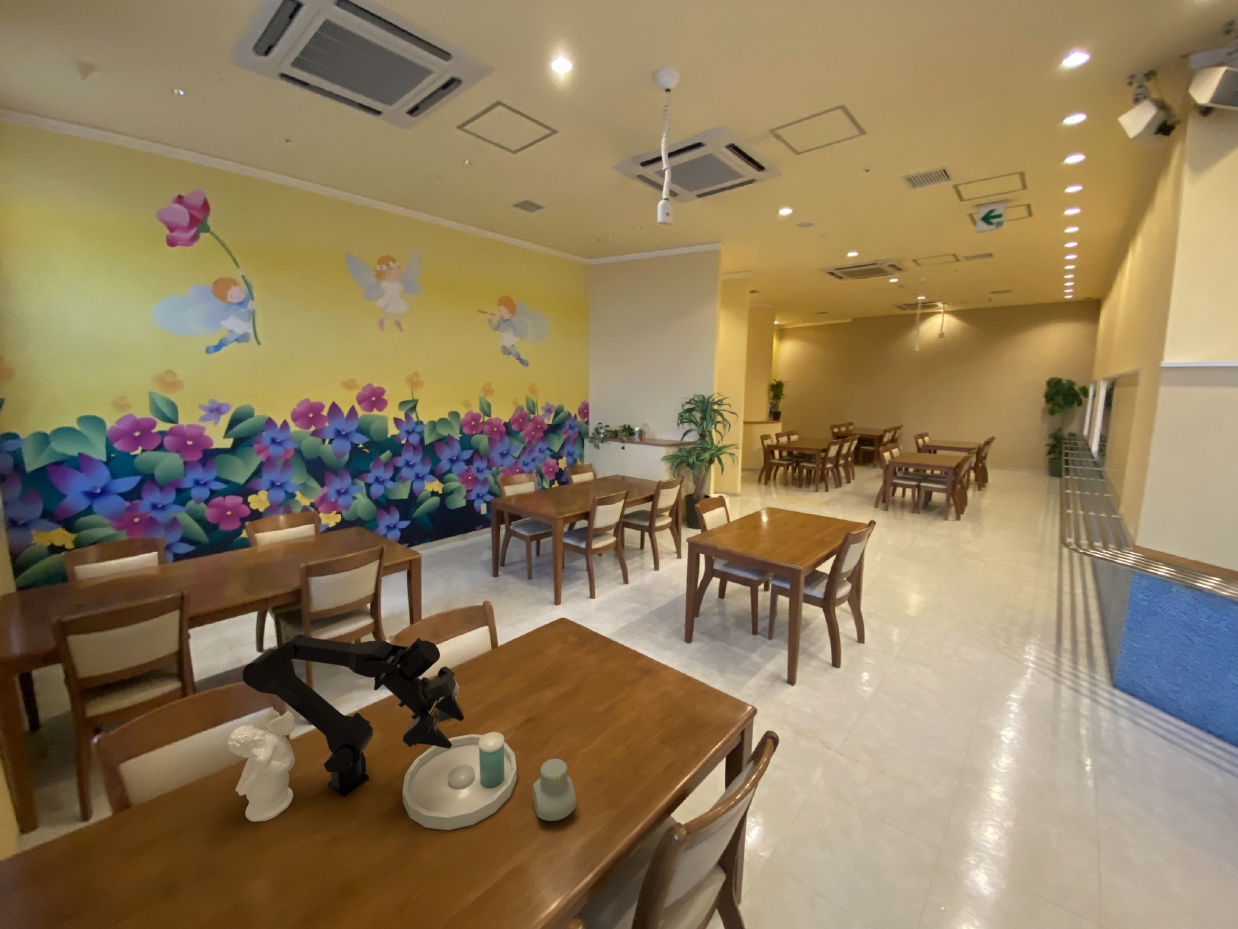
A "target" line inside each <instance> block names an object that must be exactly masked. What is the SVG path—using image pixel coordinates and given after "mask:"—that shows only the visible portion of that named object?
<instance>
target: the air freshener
mask: <svg viewBox="0 0 1238 929" xmlns="http://www.w3.org/2000/svg"><path fill="white" fill-rule="evenodd" d="M531 790H532V791H531V792H532V799H533V806H534V809H535V813H536V816H537V817H538V818H539V819H541V820H542V821H543V820H544V821H549V822H555V821H559V820H563V819H564V818H566V817H568V816H569V815H570V814H572V812H573V811H574V810H575V808H576V807H577V797H576V791H575V788H574V784H573V781H572V779H571V777H570V776H569V775H568V765H567V763H566V762H565V761H564V760H562V759H560V758H551V759H547V761H544V762H543V763H542V765H541V767H540V778H538V779H537V780H536V781H535V782H534V783H533V784H532V789H531Z"/></svg>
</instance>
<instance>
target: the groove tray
mask: <svg viewBox="0 0 1238 929" xmlns="http://www.w3.org/2000/svg"><path fill="white" fill-rule="evenodd" d="M483 735H484V734H474V733H471V734H466V735H460V736H454V737H451V738H447V739H448V740H449V741H450V742H451V744H452V746H451V747H450V748H449V749H448V748H443V747H438V746H433V745H431V747H430V748H428V749H427V750H425V751H424V752H423V753H422V754H420V755H419V756H418V757H417V758H415V760H414V761H413V763H412V764H411V765H410V767H408V770H407V771H406V773H405V774H404V775H405V776H404V780H403V785H402V804H403V807H404V808H405V810H406V812H407V814H408V817H409V819H411V820H413V821H414V822H416V823H417V824H419V825H421V826H422V827H423V828H425V829H426V828H427V829H435V830H444V831H451V830H456V829H459V828H465V827H470V826H473V825H475V824H477V823H479V822H481V821H482V820H484V819H486V818H489V817H490V816H491V815H493V814H495V813H496V812H497V811H498V810H499V809H500V808H501V806H503V805H504V803H506V801H507V800H509V798H510V797H511V795H512V792H513V790H514V787H515V784H516V782H517V776H518V775H517V770H518V769H517V762H516V754H515V752H514V751H513V750H512V749H511V747H510V746H509V744H507V742H505V741H504V777H505V778H504V781H503V782H502V783H501V784H500V785H499V786H497V787H495V788H485V787H483V786H482V785H481V784H480V761H479V739H480V738H481V737H482V736H483Z"/></svg>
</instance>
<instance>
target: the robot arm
mask: <svg viewBox="0 0 1238 929" xmlns="http://www.w3.org/2000/svg"><path fill="white" fill-rule="evenodd" d="M440 658H441V653H440V650H439V648H438V647H437V645H436V644H435V643H434V642H431V641H429V640H425V639H423V640H422V639H421V638H420V637H417V638H416V639H415V640H414V641H413V642H412V643H411V645H410V646H404V645H398V644H393V643H390V642H389V641H385V640H368V641H363V642H358V643H353V642H345V641H337V640H331V639H324V638H317V637H316V638H315V637H311V636H306V635H304V634H302V633H301V634H300V633H299V634H295V635H293V636H291V637H290V638H289V639H287V640H286V641H285V642H284V643H282V644H281V645H280V646H278V647H277V648H269V649H266V651H264V652H262V653H261V654H260V655H258V657H256V658H255V659H253V660H252V661H251V662H249V663H248V664H247V665H245V667H244V668H243V671H242V681H243V682H244V683H245V684H246V685H247V686H248V687H250V688H252V689H254V690H255V691H257V692H259V693H262V694H270V695H274V696H275V695H276V696H277V697H278V698H279V699H280V700H282V701H283V702H284V703H286V705H288V706H289V707H290V708H292V709H293V710H294V711H295V712H296V713H298V714H299V715H300V716H302V717H303V718H304V719H305V721H307V722H308V723H310V724H311V725H312V726H313V727H315V728H316V729H317V730H318V731H320V732H321V733H322V734H323V735H324V736H325V739H326V743H327V746H328V750H329V751H330V752H331V754H330V756H329V757H328V758H327V759H326V760H325V762H324V764H323V766H324V768H325V770H326V772H327V773H330V781H329V782H328V783H327V787H328V788H329V789H331V790H332V791H334V792H336V793H337V794H339V796H340V795H341V797H346V796H347V795H349V794H350V793H351V792H353V791H354V790H356V789H357V788H358V787H360V786H361V785H362V784H364V783H365V782H366V781H368V780H369V779H370V775H369V774H367V773H366V772H367V760H366V756H365V754H364V750H365V749H366V747H367V746H368V745H369V743H370V742H371V741H372V739H373V736H374V732H373V731H374V729H373V727H372V725H371V721H370V720H367V719H366V718H365V717H363V716H362V715H361V713H359V712H355V713H354V714H353V716H352V715H344V714H342V712H340V711H339V710H338V708H337V709H336V708H335V707H334V706H333V705H332V704H331V703H329V702H328V700H326V699H325V698H323V697H322V696H321V695H320V694H319V693H318V692H316V691H315V690H314V689H313V688H312V687H311V686H309V685H308V684H307V683H306V682H304V681H303V679H301V678H299V676H298V675H297V674H296V671H295V668H294V664H293V662H292V660H298V661H307V662H312V663H320V664H328V665H334V666H340V667H344V668H348V669H349V670H350V671H351V672H352V673H353V674H355V675H359V676H362V677H365V678H368V679H369V678H371V679H373V680H374V685H373V690H374V691H377V690H379V689H380V688H381V687H382V686H384V687H385V688H386V690H388V691H389V692H390V693H391V694H393V695H394V697H396V698H397V699H398V700H399V703H398V704H397V706H398V707H400V708H401V709H402V708H403V707H404V706H406V707H407V709H409V710H410V711H411V712H412V713H413V714H412V716H411V718H412V719H413V720H414V721H413V722H411V723H410V725H408V727H407V729H406V731H405V732H404V734H403V735H402V738H403V739H402V741H403V743H404V744H405V745H406V746H407V747H409V748H411V747H413V746H417V745H428V746H438V747H443V748H448V749H449V748H450V747H451V746H452V744H451V742H450V741H449V740H448V739H449V738H448V737H447V736H446V735H445V734H444V733H443V732H442V731H441V730H440V729H439V728H438V719H435V720H434V717H433V715H432V714H433V712H434V710H435V709H436V708H437V709H439V710H441V711H442V712H444V713H446V714H448V715H450V716H451V717H453V719H455V720H457V721H460V722H462V721H463V720H465V716H464V714H463V713H462V710H461V708H460V706H459V703H458V702H457V700H456V699H455V697H454V693H455V692H454V690H455V686H456V683H457V682H455V681H456V680H455V678H454V677H455V675H456V673H455V672H454V671H453V670H452V669H450V668H449V667H447V666H446V665H445V666H442V667H440V668H439V670H438V671H437V675H436V676H434V678H432V679H431V680H430V679H429V678H428V677H425V676H423V677H422V678H420V677H421V676H422V675H424V674H425V673H426V672H427V671H428V670H429V669H430V668H432V666H434V665H435V664H436V663H437V662H438V661H439V660H440Z"/></svg>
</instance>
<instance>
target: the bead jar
mask: <svg viewBox="0 0 1238 929" xmlns="http://www.w3.org/2000/svg"><path fill="white" fill-rule="evenodd" d="M482 735H483V736H482V737H481V738H480V739H479V761H480V784H481V785H482V786H483V787H485V788H495V787H497V786H499V785H500V784H501V783H502V782H503V781H504V778H505V777H504V742H505V737H504V734H502V733H500V732H498V731H492V732H490V731H489V732H488V733H485V734H482Z"/></svg>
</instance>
